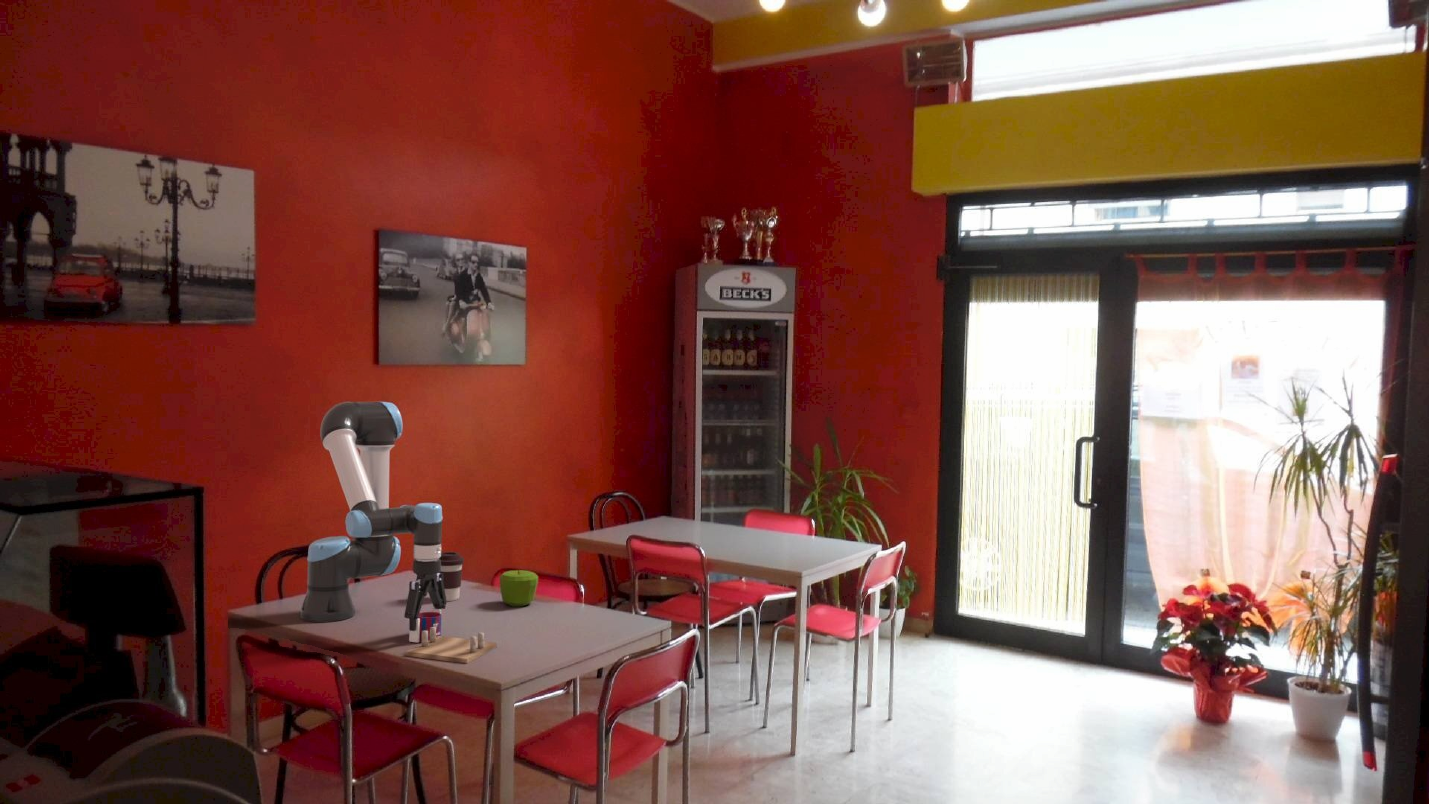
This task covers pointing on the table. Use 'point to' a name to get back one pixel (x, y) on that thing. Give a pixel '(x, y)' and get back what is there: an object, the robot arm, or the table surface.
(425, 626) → the cup
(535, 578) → the apple
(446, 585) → the coffee cup
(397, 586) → the table surface
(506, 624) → the table surface
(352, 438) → the robot arm
